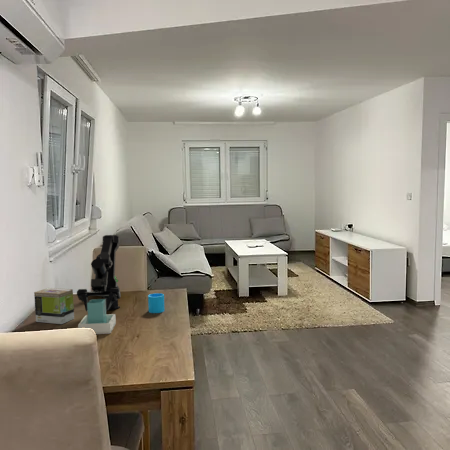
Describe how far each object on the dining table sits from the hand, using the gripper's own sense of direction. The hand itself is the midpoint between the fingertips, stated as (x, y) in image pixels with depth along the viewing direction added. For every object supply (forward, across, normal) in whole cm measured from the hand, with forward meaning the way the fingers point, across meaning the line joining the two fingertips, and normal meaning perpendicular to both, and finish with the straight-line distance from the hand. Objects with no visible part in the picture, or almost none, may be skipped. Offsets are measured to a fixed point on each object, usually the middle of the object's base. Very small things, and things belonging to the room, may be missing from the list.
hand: (96, 310), depth 194 cm
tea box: (-5, -23, +18) cm, 30 cm away
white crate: (+6, 0, +6) cm, 9 cm away
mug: (-13, +24, +26) cm, 37 cm away
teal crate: (+5, 0, +6) cm, 8 cm away
